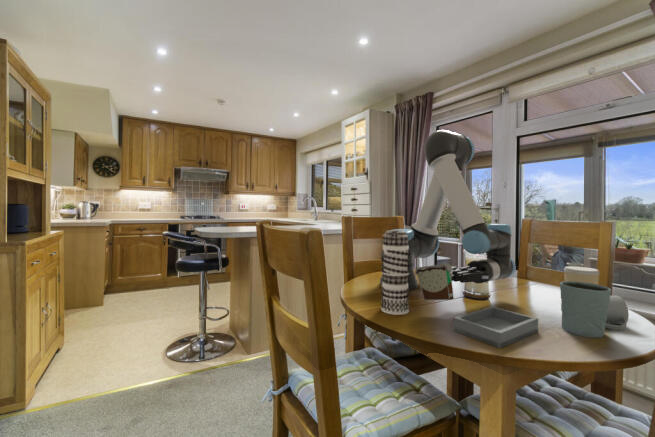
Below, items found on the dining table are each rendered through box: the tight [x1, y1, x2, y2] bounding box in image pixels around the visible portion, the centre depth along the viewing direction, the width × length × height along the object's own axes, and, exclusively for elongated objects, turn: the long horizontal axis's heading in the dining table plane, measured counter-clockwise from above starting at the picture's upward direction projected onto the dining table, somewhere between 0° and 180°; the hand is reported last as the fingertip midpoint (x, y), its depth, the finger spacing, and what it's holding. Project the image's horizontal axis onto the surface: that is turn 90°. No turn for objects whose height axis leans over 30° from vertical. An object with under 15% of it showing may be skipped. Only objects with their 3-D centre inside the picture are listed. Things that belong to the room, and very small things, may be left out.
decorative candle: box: [380, 229, 411, 316], centre depth 96 cm, size 9×9×25 cm
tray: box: [453, 306, 539, 349], centre depth 79 cm, size 12×18×4 cm, turn 123°
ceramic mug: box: [605, 295, 630, 331], centre depth 85 cm, size 11×8×8 cm
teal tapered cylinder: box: [559, 280, 612, 339], centre depth 80 cm, size 10×10×12 cm
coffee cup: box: [563, 265, 601, 285], centre depth 104 cm, size 9×9×12 cm
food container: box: [414, 262, 454, 301], centre depth 92 cm, size 12×6×10 cm, turn 31°
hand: (436, 278), depth 90 cm, fingers closed
